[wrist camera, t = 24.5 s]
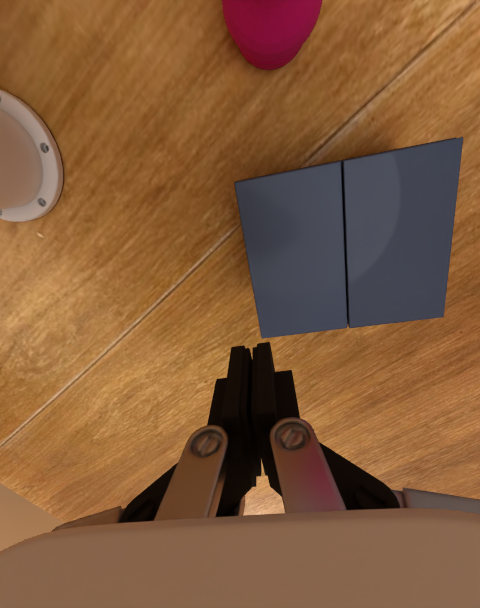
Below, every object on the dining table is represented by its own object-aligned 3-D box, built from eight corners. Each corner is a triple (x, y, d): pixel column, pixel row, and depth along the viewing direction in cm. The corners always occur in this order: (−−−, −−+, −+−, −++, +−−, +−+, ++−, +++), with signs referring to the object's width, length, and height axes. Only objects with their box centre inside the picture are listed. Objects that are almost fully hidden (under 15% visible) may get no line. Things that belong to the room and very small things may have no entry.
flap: (261, 336, 26) (261, 338, 25) (234, 182, 21) (234, 182, 20) (346, 325, 25) (347, 328, 24) (339, 161, 20) (340, 161, 19)
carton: (261, 294, 35) (260, 339, 25) (242, 179, 30) (232, 182, 20) (392, 276, 33) (444, 317, 23) (396, 149, 27) (464, 135, 18)
